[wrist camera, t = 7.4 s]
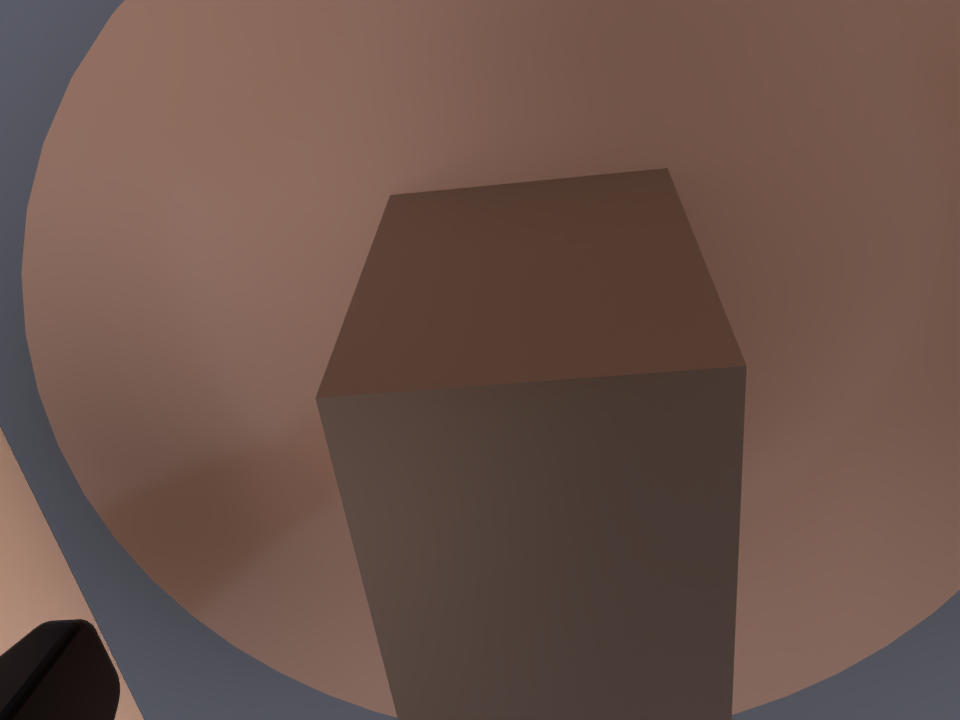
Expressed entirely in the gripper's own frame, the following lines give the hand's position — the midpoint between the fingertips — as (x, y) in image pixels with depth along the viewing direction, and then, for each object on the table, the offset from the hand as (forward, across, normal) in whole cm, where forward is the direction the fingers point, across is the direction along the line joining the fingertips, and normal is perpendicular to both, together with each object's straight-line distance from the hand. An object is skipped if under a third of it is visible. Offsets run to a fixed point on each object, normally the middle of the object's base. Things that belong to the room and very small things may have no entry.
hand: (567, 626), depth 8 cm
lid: (+4, 0, 0) cm, 5 cm away
